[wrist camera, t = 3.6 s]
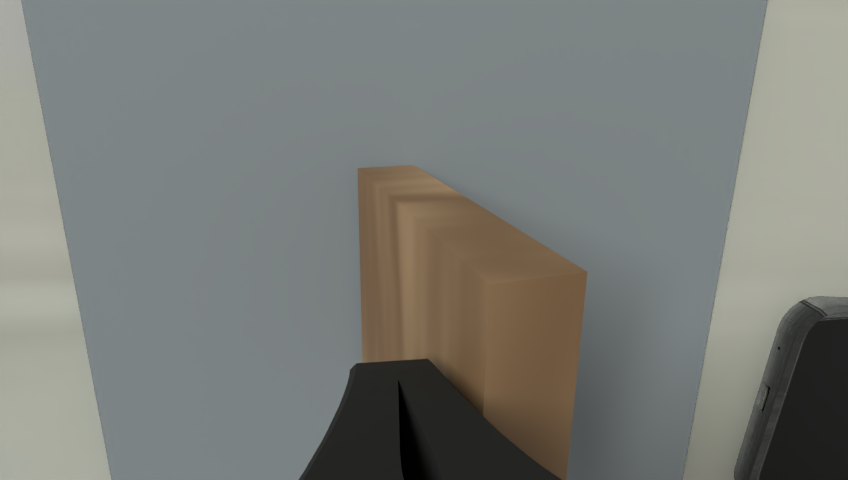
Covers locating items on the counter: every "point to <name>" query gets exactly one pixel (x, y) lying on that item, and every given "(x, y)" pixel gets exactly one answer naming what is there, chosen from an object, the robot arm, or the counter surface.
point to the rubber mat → (338, 200)
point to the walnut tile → (471, 305)
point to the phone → (802, 399)
